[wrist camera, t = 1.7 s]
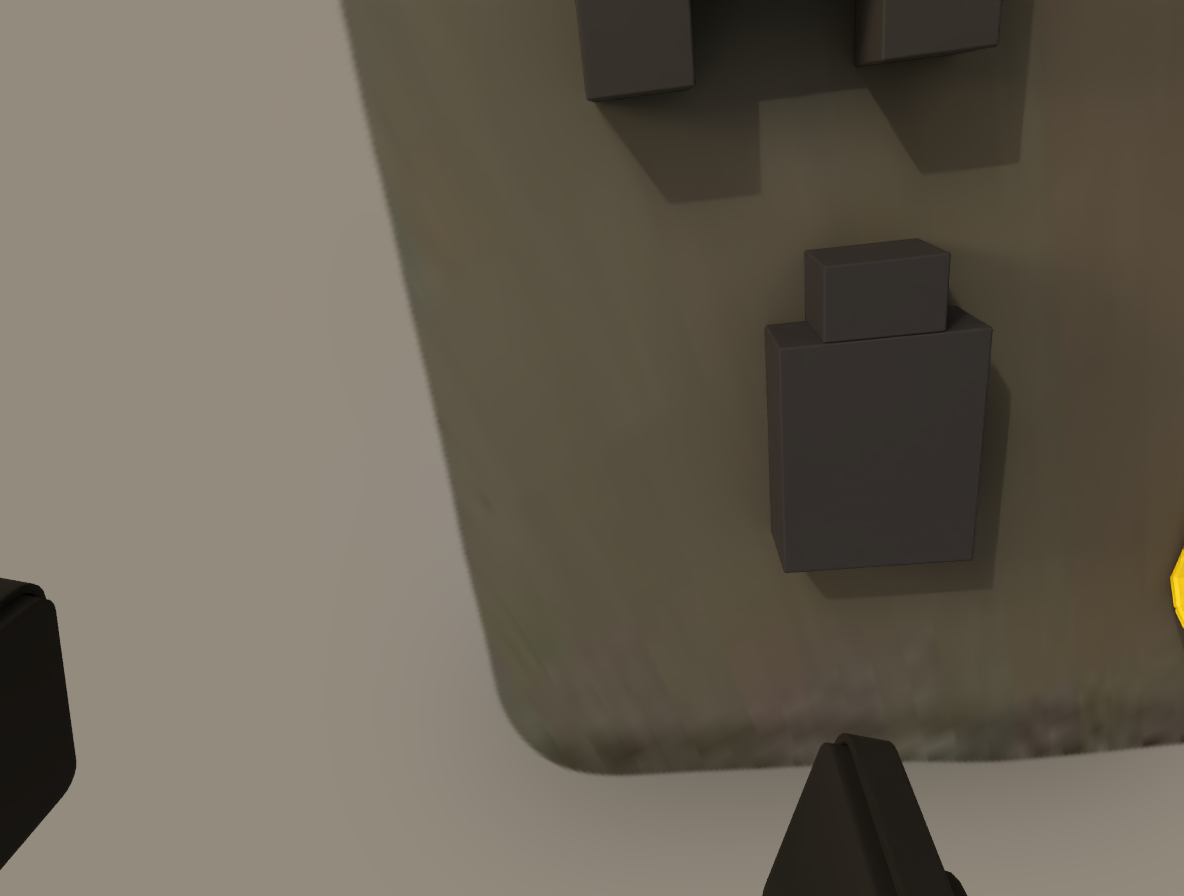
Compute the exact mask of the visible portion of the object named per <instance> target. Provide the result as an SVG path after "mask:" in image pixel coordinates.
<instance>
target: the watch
mask: <svg viewBox="0 0 1184 896" xmlns="http://www.w3.org/2000/svg"><path fill="white" fill-rule="evenodd" d="M1170 581H1171V589H1172V596H1173V604H1174V607H1175V608H1176V610H1175V611H1176V614H1177V616H1178V618H1179V620H1180V622H1181V624H1182V626H1183V628H1184V547H1183V550H1182V552H1181V554H1180V557H1179V559H1178V561H1177V563H1176V566H1175V568H1174V570H1173V573H1172V575H1171V576H1170Z"/></svg>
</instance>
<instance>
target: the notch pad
mask: <svg viewBox="0 0 1184 896" xmlns="http://www.w3.org/2000/svg"><path fill="white" fill-rule="evenodd" d="M575 2H576V10H577V19H578V28H579V37H580V46H581V55H582V64H583V73H584V82H585V91H586V98H587V100H589V101H592V102H600V101H608V100H615V99H623V98H630V97H638V96H645V95H653V94H660V93H668V92H675V91H683V90H688V89H690V88H692V87H693V86H695V69H694V52H693V36H692V19H691V3H690V0H575ZM1001 5H1002V0H855V67H863V66H870V65H878V64H885V63H893V62H900V61H908V60H915V59H923V58H930V57H938V56H945V55H953V54H959V53H964V52H969V51H974V50H979V49H985V48H990V47H995V46H997V45H998V42H999V30H1000V18H1001Z"/></svg>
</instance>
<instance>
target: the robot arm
mask: <svg viewBox="0 0 1184 896" xmlns="http://www.w3.org/2000/svg"><path fill="white" fill-rule="evenodd" d="M75 770H76V756H75V748H74V741H73V733H72V727H71V719H70V712H69V704H68V697H67V689H66V682H65V674H64V667H63V659H62V652H61V646H60V637H59V631H58V623H57V616H56V609H55V606H54V604H53V603H52V601H50V600H47V599H46V597H45V594H44V591H43V590H42V589H41V588H40V586H38V585H35V584H31V583H26V582H20V581H15V580H10V579H4V578H0V870H1V869H2V867H3V866H4V865H5V864H6V863H7V861H8V860H9V859H10V858H11V857H12V856H13V854H14V853H15V852H16V851H17V850H18V848H19V847H20V846H21V845H22V844H23V843H24V841H25V840H26V839H27V838H28V837H29V836H30V834H31V833H32V832H33V831H34V830H35V829H36V827H37V826H38V825H39V824H40V823H41V821H42V820H43V819H44V818H45V817H46V816H47V814H48V813H49V812H50V811H51V810H52V808H53V807H54V806H55V805H56V804H57V803H58V801H59V800H60V799H61V798H62V797H63V795H64V794H65V793H66V791H67V790H68V788H69V786H70V784H71V782H72V779H73V777H74V774H75ZM762 896H967V894H966V892H965V890H964V888H963V887H962V885H961V883H960V881H959V880H958V879H957V878H956V877H955V876H954V875H953V874H952V873H951V872H948V871H945V870H944V868H943V865H942V863H941V860H940V858H939V855H938V853H937V850H936V847H935V845H934V842H933V840H932V837H931V835H930V832H929V830H928V827H927V825H926V822H925V820H924V817H923V815H922V812H921V810H920V807H919V805H918V802H917V800H916V797H915V795H914V792H913V789H912V787H911V784H910V782H909V779H908V777H907V774H906V772H905V769H904V767H903V764H902V762H901V759H900V756H899V754H898V752H897V750H896V748H895V746H894V745H893V744H892V743H891V742H890V741H885V740H880V739H874V738H869V737H863V736H858V735H852V734H847V733H842V734H841V735H839V736H838V737H837V739H836V741H835V743H834V744H832V743H824V744H823V745H822V746H821V747H820V749H819V752H818V754H817V757H816V759H815V762H814V764H813V767H812V769H811V772H810V774H809V777H808V779H807V782H806V784H805V787H804V789H803V792H802V794H801V797H800V799H799V802H798V804H797V807H796V809H795V812H794V814H793V817H792V819H791V822H790V824H789V827H788V829H787V832H786V834H785V837H784V839H783V842H782V844H781V847H780V849H779V852H778V854H777V857H776V859H775V862H774V864H773V867H772V869H771V872H770V874H769V877H768V879H767V882H766V884H765V887H764V890H763V895H762Z"/></svg>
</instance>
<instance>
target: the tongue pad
mask: <svg viewBox="0 0 1184 896" xmlns="http://www.w3.org/2000/svg"><path fill="white" fill-rule="evenodd" d="M950 257H951V255H950V253H949V252H946V251H944V250H942V249H940V248H938V247H935V246H933V245H931V244H929V243H926V242H924V241H922V240H920V239H917V238H916V239H907V240H898V241H889V242H880V243H871V244H862V245H853V246H844V247H835V248H826V249H817V250H807V251H805V319H806V321H804V322H794V323H784V324H774V325H767V326H765V348H766V379H767V410H768V441H769V472H770V503H771V532H772V535H773V538H774V541H775V545H776V548H777V551H778V554H779V557H780V560H781V564H782V567H783V570H784V572H785V573H791V572H805V571H819V570H834V569H848V568H863V567H877V566H892V565H906V564H920V563H935V562H949V561H964V560H972V559H973V549H974V537H975V526H976V514H977V503H978V492H979V480H980V469H981V457H982V446H983V434H984V423H985V411H986V400H987V388H988V377H989V365H990V354H991V342H992V331H993V329H992V327H990V326H988V325H987V324H985V323H984V322H982V321H980V320H979V319H977V318H975V317H974V316H972V315H970V314H969V313H967V312H965V311H964V310H962V309H960V308H959V307H957V306H952V307H947V305H948V289H949V273H950Z"/></svg>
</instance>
